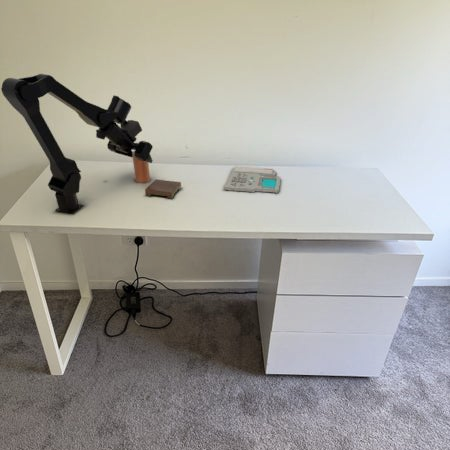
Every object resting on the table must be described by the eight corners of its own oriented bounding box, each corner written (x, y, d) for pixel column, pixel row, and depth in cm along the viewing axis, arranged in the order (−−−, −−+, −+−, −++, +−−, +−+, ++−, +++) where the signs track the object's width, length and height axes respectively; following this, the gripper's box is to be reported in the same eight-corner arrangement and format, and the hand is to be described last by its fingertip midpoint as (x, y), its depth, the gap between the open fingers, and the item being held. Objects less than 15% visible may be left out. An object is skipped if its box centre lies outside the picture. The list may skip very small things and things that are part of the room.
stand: (172, 199, 135) (171, 192, 134) (145, 196, 137) (144, 189, 136) (181, 188, 143) (180, 182, 141) (156, 185, 145) (155, 179, 143)
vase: (150, 182, 147) (146, 145, 139) (135, 183, 146) (131, 146, 138) (149, 177, 152) (146, 141, 143) (135, 177, 151) (130, 142, 142)
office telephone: (233, 163, 159) (281, 166, 157) (233, 169, 160) (281, 173, 158) (224, 183, 141) (279, 187, 138) (224, 190, 142) (278, 194, 140)
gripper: (145, 118, 127) (170, 145, 141) (108, 109, 136) (135, 135, 150) (131, 148, 127) (157, 172, 141) (94, 137, 135) (122, 161, 149)
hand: (143, 159), depth 145 cm, fingers open, 9 cm apart
